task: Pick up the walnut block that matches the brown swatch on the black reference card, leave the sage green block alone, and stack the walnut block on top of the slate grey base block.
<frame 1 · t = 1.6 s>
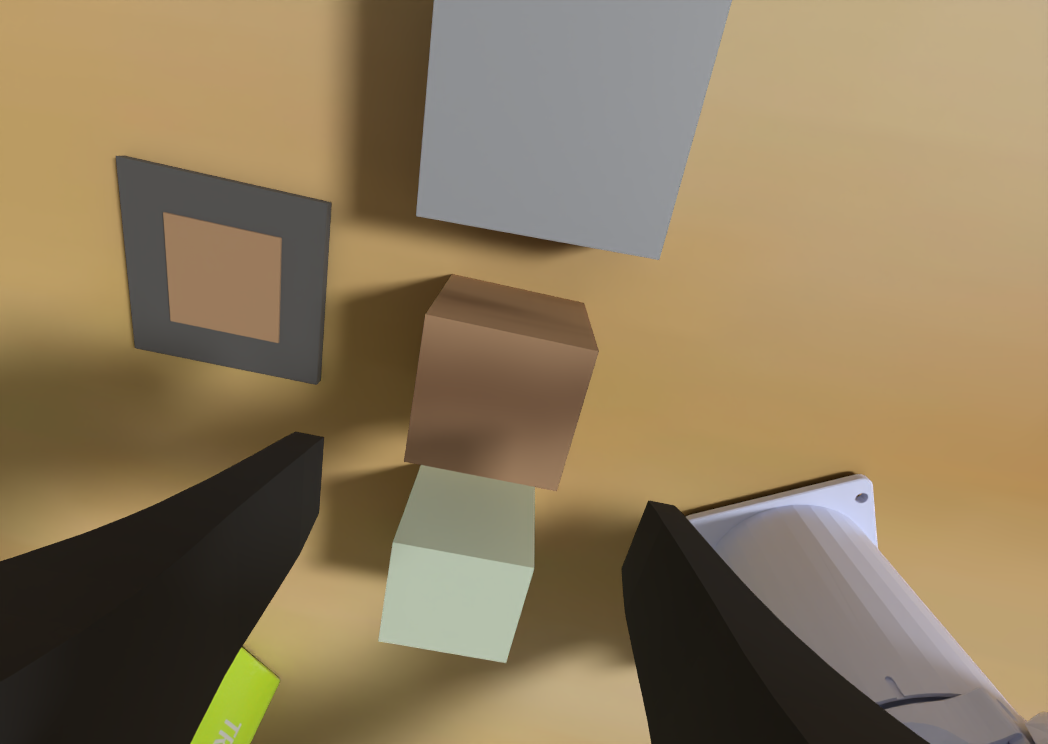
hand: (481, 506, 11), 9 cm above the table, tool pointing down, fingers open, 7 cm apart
reference card: (231, 277, 19), on the table
sage block: (469, 516, 23), on the table
box: (197, 686, 29), on the table
slate base: (557, 110, 17), on the table
walnut block: (505, 349, 20), on the table
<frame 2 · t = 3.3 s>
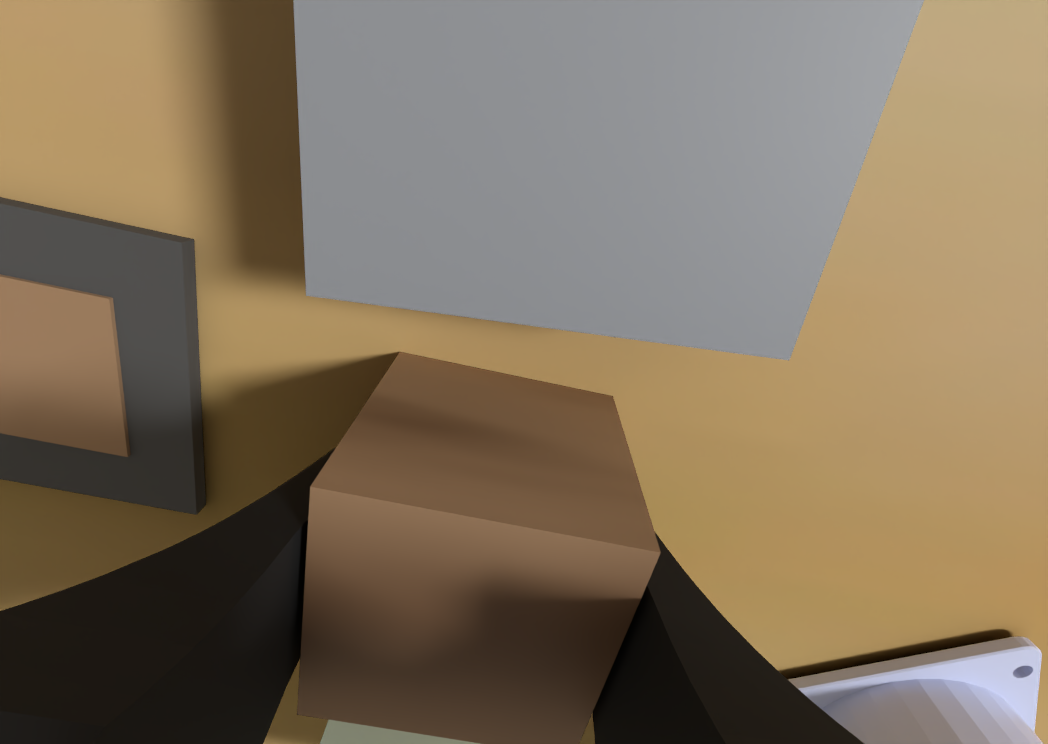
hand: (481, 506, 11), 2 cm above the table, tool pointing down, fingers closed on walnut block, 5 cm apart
reference card: (45, 356, 12), on the table
sage block: (439, 679, 16), on the table
slate base: (574, 83, 10), on the table
walnut block: (487, 463, 13), on the table, touching gripper
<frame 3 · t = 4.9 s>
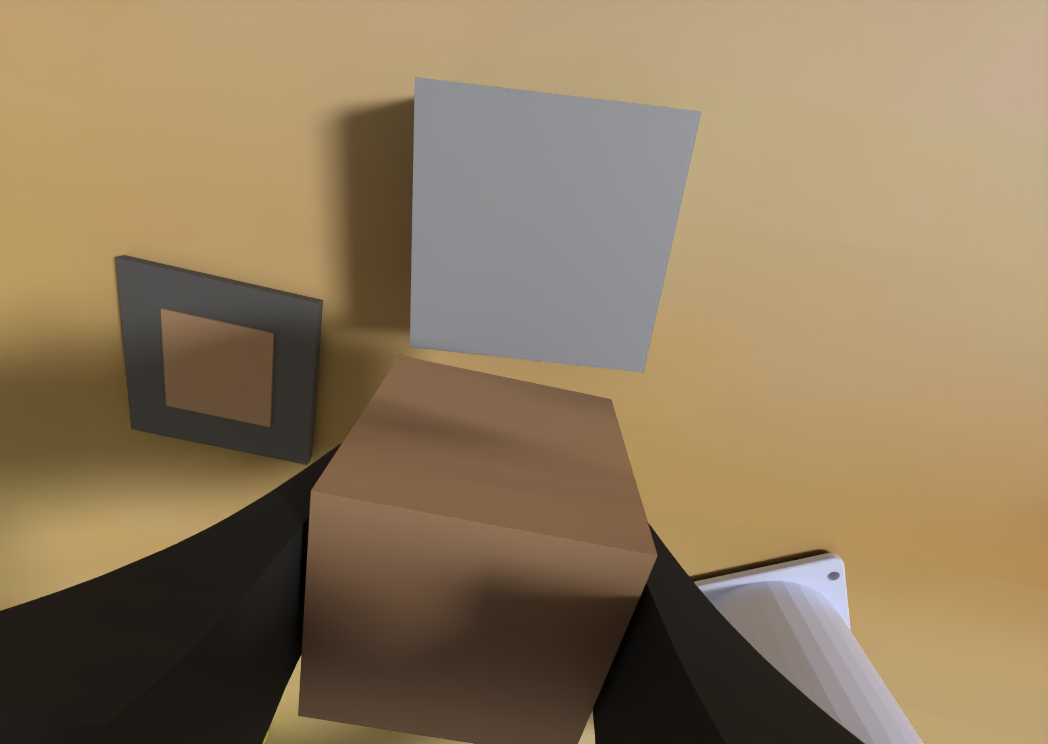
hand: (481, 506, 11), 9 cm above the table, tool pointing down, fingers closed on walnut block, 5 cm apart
reference card: (225, 365, 20), on the table
slate base: (540, 221, 17), on the table
walnut block: (487, 466, 13), point 7 cm above the table, touching gripper
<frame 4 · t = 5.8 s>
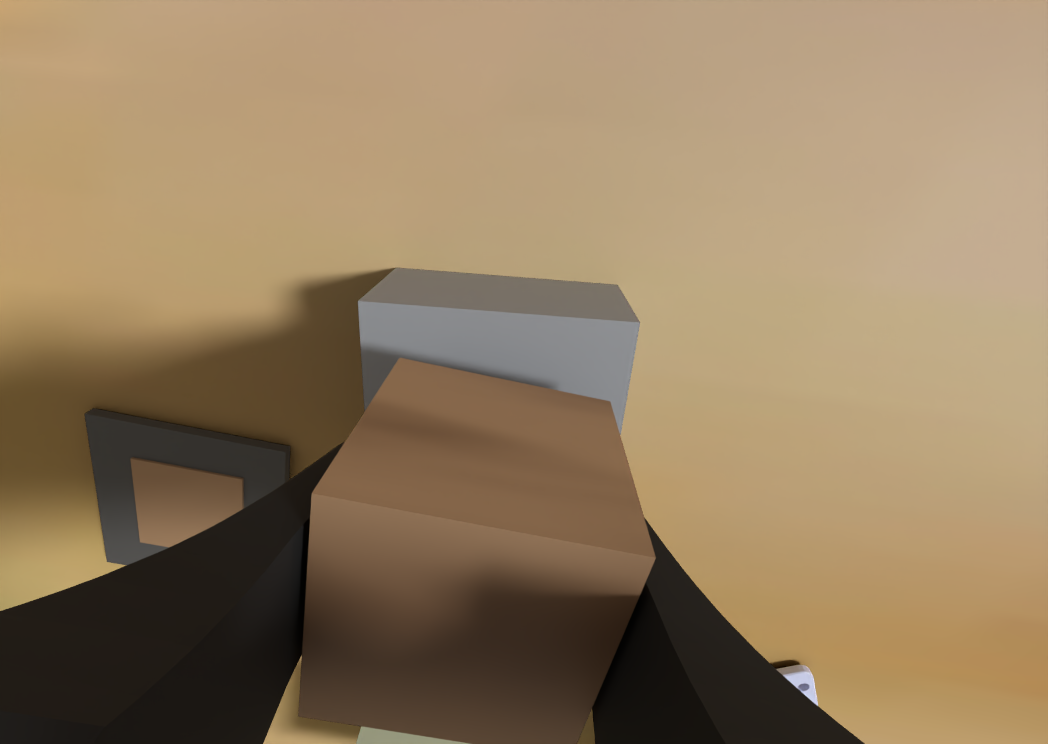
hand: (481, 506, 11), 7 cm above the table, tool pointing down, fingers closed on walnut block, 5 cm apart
reference card: (197, 503, 20), on the table
sage block: (431, 691, 24), on the table
slate base: (501, 374, 18), on the table
walnut block: (486, 467, 13), point 5 cm above the table, touching gripper
when the fingers open (7 cm above the table, at t = 6.5 s): walnut block drops 1 cm, resting on slate base.
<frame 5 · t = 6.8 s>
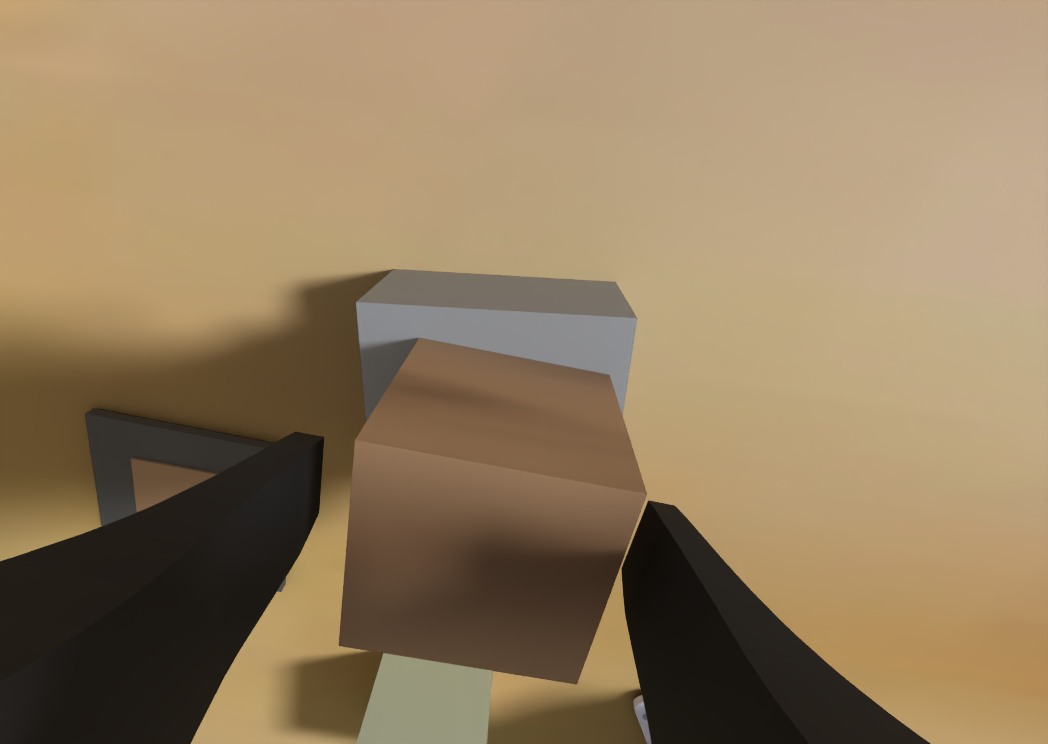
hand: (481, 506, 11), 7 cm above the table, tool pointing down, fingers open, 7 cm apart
reference card: (197, 503, 20), on the table
sage block: (431, 691, 24), on the table
slate base: (501, 373, 18), on the table, touching walnut block
walnut block: (498, 438, 14), point 4 cm above the table, touching slate base
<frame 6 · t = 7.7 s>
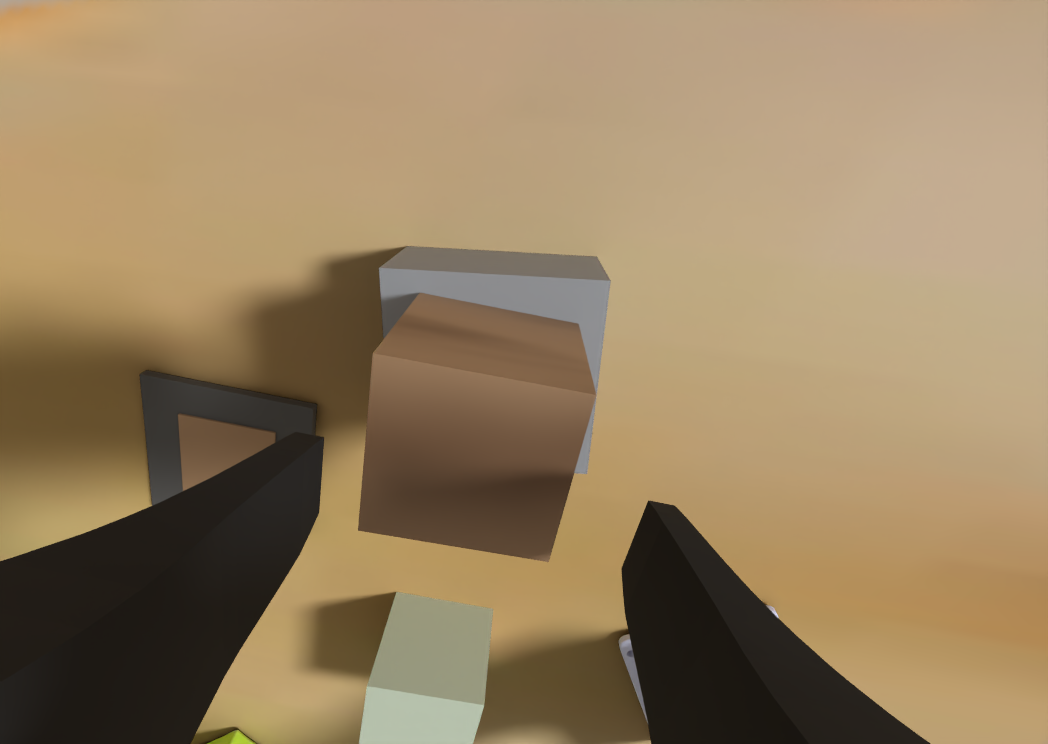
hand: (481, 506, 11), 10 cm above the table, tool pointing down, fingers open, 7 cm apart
reference card: (233, 456, 23), on the table
sage block: (438, 632, 27), on the table
slate base: (499, 338, 20), on the table, touching walnut block
walnut block: (486, 379, 17), point 4 cm above the table, touching slate base
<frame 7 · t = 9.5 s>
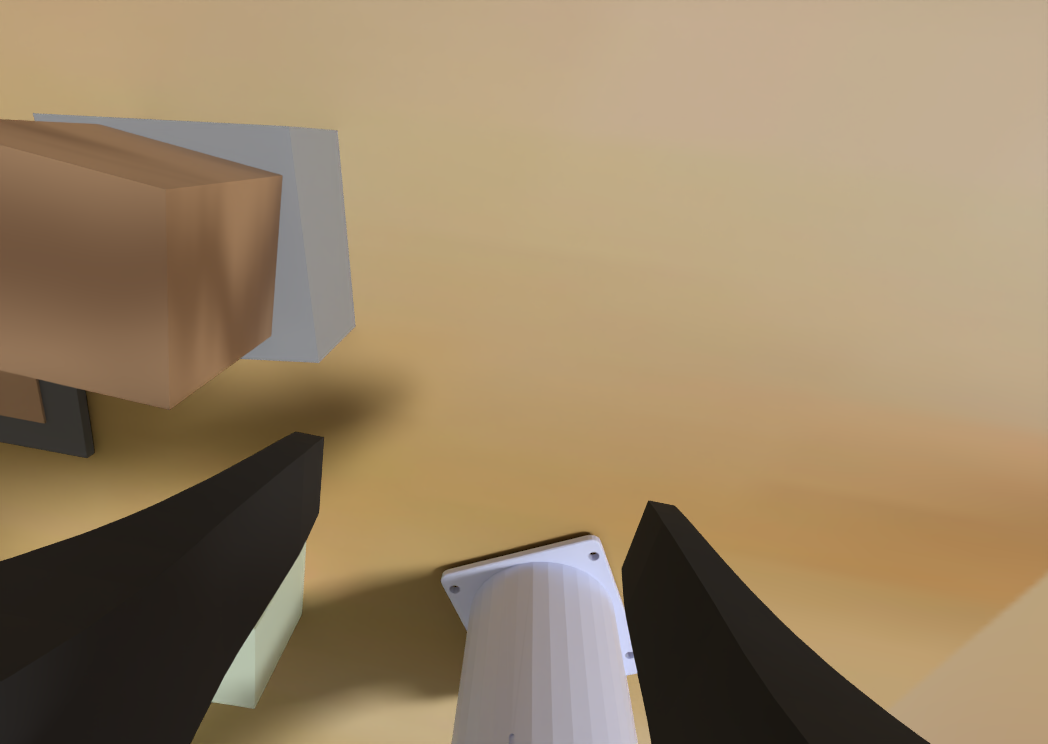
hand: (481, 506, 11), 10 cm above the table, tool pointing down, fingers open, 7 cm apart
sage block: (254, 568, 26), on the table
slate base: (255, 229, 19), on the table
walnut block: (191, 238, 15), point 4 cm above the table
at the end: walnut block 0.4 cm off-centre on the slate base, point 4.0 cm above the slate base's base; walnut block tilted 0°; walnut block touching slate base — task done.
